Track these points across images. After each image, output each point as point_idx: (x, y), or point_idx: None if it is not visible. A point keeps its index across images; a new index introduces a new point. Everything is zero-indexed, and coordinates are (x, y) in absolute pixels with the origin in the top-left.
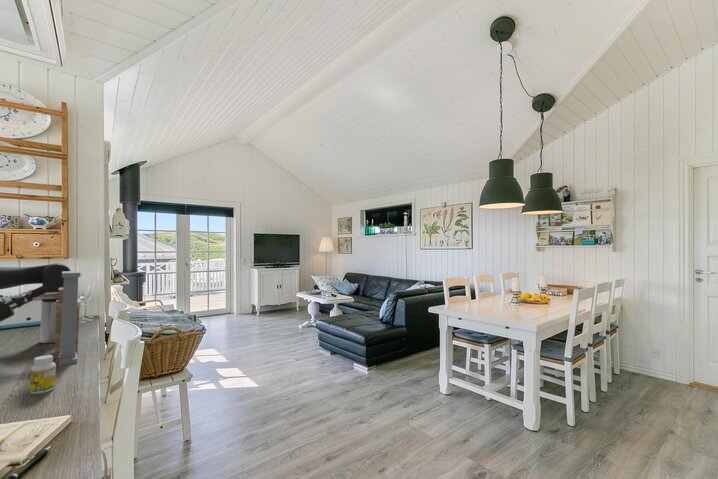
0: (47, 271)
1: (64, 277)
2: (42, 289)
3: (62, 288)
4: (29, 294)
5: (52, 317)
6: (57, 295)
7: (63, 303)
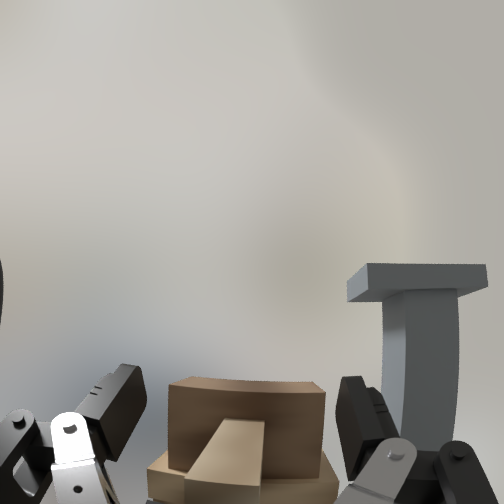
0: None
1: (455, 293)
2: (375, 392)
3: (245, 388)
4: (411, 455)
5: None
6: (264, 438)
7: (451, 433)
